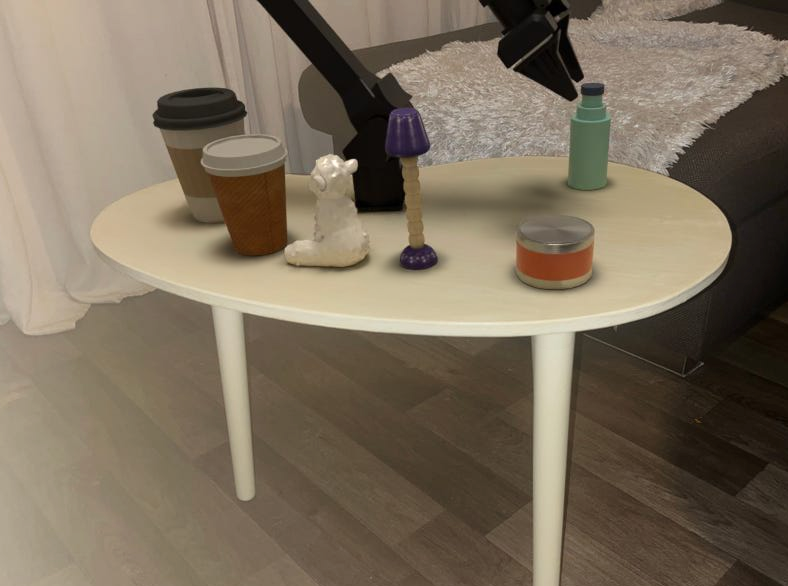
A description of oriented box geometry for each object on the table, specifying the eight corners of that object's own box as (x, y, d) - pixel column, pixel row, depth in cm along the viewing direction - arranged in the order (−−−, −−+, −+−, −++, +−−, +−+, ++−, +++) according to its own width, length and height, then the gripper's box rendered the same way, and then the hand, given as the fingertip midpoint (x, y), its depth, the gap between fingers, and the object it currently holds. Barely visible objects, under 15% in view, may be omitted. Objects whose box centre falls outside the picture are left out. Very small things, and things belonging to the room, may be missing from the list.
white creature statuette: (341, 234, 92) (328, 136, 86) (394, 250, 88) (385, 147, 81) (282, 263, 86) (264, 159, 79) (336, 281, 81) (322, 172, 75)
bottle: (570, 190, 102) (574, 90, 95) (565, 177, 106) (570, 81, 99) (608, 189, 102) (616, 89, 95) (603, 176, 106) (610, 79, 99)
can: (518, 290, 78) (518, 245, 75) (514, 257, 85) (514, 215, 82) (596, 288, 77) (600, 243, 75) (586, 255, 84) (589, 212, 81)
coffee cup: (261, 193, 106) (241, 81, 98) (267, 222, 97) (246, 101, 89) (177, 204, 104) (149, 91, 96) (175, 234, 94) (144, 112, 86)
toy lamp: (431, 272, 82) (422, 116, 73) (390, 270, 83) (376, 116, 74) (440, 254, 86) (433, 104, 77) (401, 252, 87) (389, 103, 78)
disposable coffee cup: (220, 235, 94) (199, 138, 87) (298, 225, 95) (283, 129, 89) (220, 266, 86) (196, 162, 79) (304, 255, 87) (288, 152, 81)
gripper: (546, -78, 71) (637, 61, 76) (565, -87, 87) (639, 29, 91) (457, 2, 77) (547, 127, 82) (489, -20, 92) (563, 87, 97)
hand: (578, 89), depth 88 cm, fingers open, 9 cm apart
